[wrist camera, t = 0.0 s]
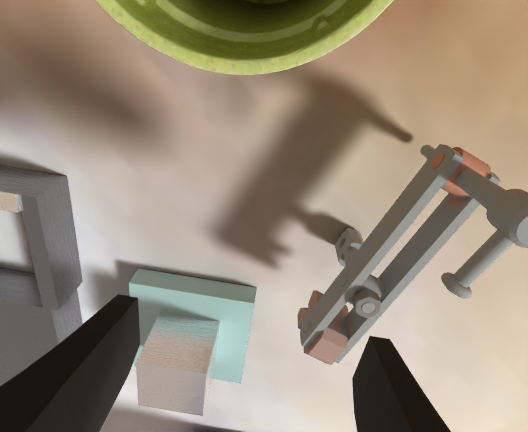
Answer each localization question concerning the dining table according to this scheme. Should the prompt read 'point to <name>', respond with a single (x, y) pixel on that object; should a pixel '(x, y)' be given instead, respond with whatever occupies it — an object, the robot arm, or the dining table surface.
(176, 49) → the plant pot
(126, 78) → the dining table surface
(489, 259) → the clamp
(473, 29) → the dining table surface
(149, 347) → the block
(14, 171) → the grey sliding box
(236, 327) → the mint green square slab
